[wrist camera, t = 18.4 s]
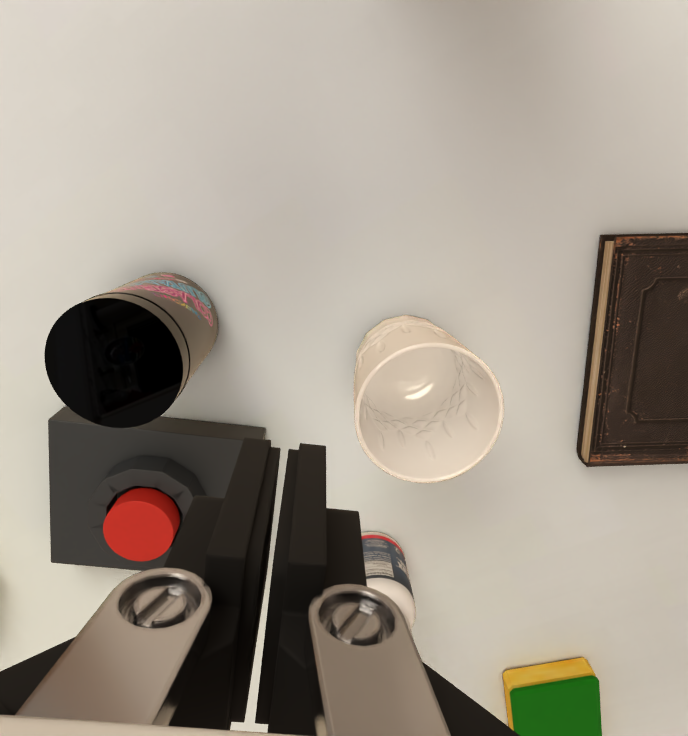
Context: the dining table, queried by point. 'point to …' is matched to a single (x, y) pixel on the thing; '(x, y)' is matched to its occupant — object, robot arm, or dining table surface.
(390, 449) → the white cup
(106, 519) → the button
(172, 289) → the supplement container
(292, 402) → the dining table surface
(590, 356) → the hardcover book
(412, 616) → the pill bottle
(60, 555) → the control box
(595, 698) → the dish sponge
